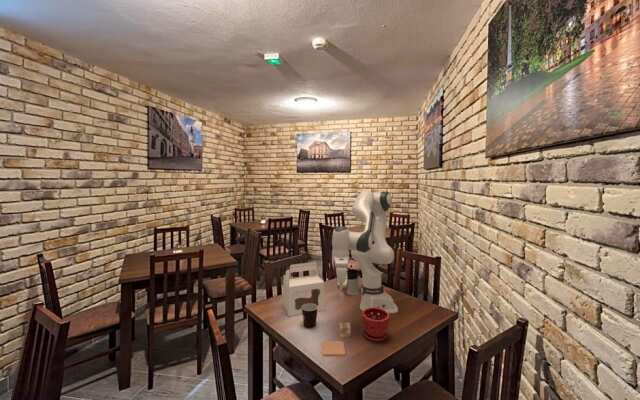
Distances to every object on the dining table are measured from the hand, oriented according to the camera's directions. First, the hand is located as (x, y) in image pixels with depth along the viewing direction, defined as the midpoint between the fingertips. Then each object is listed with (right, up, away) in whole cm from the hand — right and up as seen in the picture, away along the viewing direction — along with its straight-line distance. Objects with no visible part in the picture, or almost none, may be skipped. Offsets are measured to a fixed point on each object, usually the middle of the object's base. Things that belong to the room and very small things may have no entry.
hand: (340, 285), depth 144 cm
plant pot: (+17, -24, -4) cm, 30 cm away
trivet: (-4, -25, -14) cm, 29 cm away
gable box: (-20, -22, +27) cm, 40 cm away
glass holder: (+10, -20, +51) cm, 56 cm away
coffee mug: (-16, -24, +6) cm, 29 cm away
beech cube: (+2, -24, -2) cm, 24 cm away
